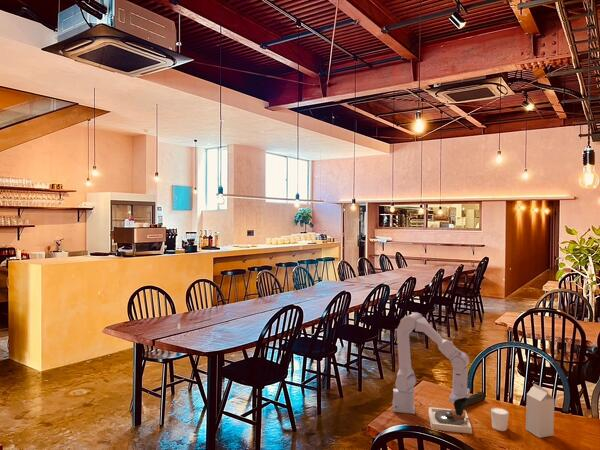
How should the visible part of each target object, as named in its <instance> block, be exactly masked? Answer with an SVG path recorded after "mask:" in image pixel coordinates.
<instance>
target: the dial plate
mask: <svg viewBox="0 0 600 450" xmlns="http://www.w3.org/2000/svg"><path fill="white" fill-rule="evenodd" d="M451 409H452V408H443V407H441V408H440V407H432V406H429V407H428V411H427V412H428V419H429V424H430V429H431V430H435V431H446V432H456V433H462V434H463V433H464V434H472V435H473V430H472V425H471V422H470V418H469V417H468V414H467V412H466V416H465V418H464V423H463V424H461V425H450V424H443V423H440V422H438V421H437V420H436V419H435V413H436V412H438V411H442V410H448V411H451Z"/></svg>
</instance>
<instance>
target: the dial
mask: <svg viewBox="0 0 600 450" xmlns="http://www.w3.org/2000/svg"><path fill="white" fill-rule="evenodd" d="M450 409H451V411H448V410H442V411H438V412H436V413H435V419H436V420H437V421H438V422H440V423H443V424H450V425H461V424H463V423H464V418H465V416H466V413H467V411H466V409H464V410H463V414H462V415H461V416H460V415H457V414H456V411H455V408H450Z"/></svg>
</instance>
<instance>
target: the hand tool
mask: <svg viewBox="0 0 600 450" xmlns="http://www.w3.org/2000/svg"><path fill="white" fill-rule="evenodd" d="M485 400H486V394H485V393H484V392H483V391H478V392H476V393H474V394H471V395H470V397H469V398H468V401H467V402H466V404H465V407H464V409H467V408H468V406H470V405H473V404H476V403H478V402H481V401H485ZM466 407H467V408H466Z"/></svg>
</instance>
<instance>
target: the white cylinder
mask: <svg viewBox="0 0 600 450" xmlns="http://www.w3.org/2000/svg"><path fill="white" fill-rule="evenodd" d="M509 412H510V411H508V410H507V409H504V408H501V407H492V408H491V409H490V413H491V414H490V415H491V417H490V418H491V426H492V428H493V429H494V430H497V431H499V432H500V431H501V432H504V431H506V430H508V422H509V416H510V415H509V414H510V413H509Z"/></svg>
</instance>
